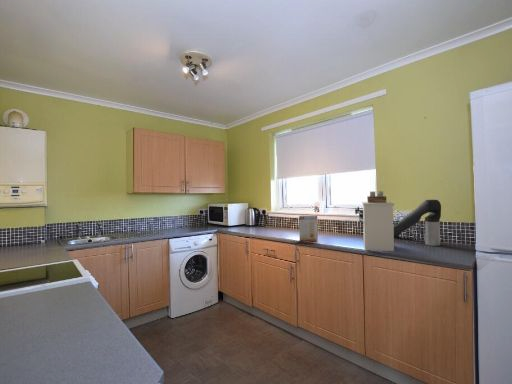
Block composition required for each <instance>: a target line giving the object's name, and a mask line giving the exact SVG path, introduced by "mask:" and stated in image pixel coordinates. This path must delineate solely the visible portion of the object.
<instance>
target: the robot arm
mask: <svg viewBox="0 0 512 384" xmlns="http://www.w3.org/2000/svg"><path fill="white" fill-rule="evenodd" d="M354 211H355V212H354V214H355V215H357V214H358V220H359V222H361V223H362V224H363V209H360V206H358V207H357V208H355V210H354ZM428 213H429V214H428ZM426 214H428V215H427V216H425V217H424V244H425V245H427V246H432V247H433V246H434V247H436V246H438V247H439V246H440V245H441V234H440V233H441V232H440V231H441V229H440V227H441V225H440V224H441V222H440V220H441V216H442V205H441V202H440V201H439V200H438V199H425V200H424V201H422V202H420V204H419V205H418V206H417V207H416V208H415V209H413V210H412V211H410V212H409V213H407V214H406V215H404V217H402V219H401V220H400V221H399V222H397V223H398V224H397V225H394V236H396V237H399V236H400V235H401V234H403V232H405V231H406V230H408V229H409V228H411V227H413V226H416V224H418V223H419V222H420V221H421V219H422V217H423V216H424V215H426Z"/></svg>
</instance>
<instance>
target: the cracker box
mask: <svg viewBox="0 0 512 384" xmlns="http://www.w3.org/2000/svg"><path fill="white" fill-rule="evenodd" d="M298 218H299V219H298V220H299V221H298V222H299V224H298V227H299V228H298V229H299V241H303V242H318V241H319V238H318V237H319V234H318V233H319V231H318V230H319V229H318V215H310V214H309V215H303V214H302V215H299V216H298Z"/></svg>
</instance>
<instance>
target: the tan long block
mask: <svg viewBox="0 0 512 384" xmlns="http://www.w3.org/2000/svg"><path fill="white" fill-rule="evenodd" d="M366 202H368V203H386V202H387V196H386V195H384V191H383V190H381V191H380V190H379V191H377V195H376V191H369V195H368V196H367V200H366Z"/></svg>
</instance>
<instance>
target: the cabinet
mask: <svg viewBox="0 0 512 384" xmlns="http://www.w3.org/2000/svg"><path fill="white" fill-rule="evenodd" d="M361 204H362V210H363V229H362V230H363V247H364V250H365V251H382V252H385V251H386V252H395V240H394V239H395V237H394V224H393V223H394V206H395V203H394V202H391V201H386V203H368V202H367V201H362V203H361Z"/></svg>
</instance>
